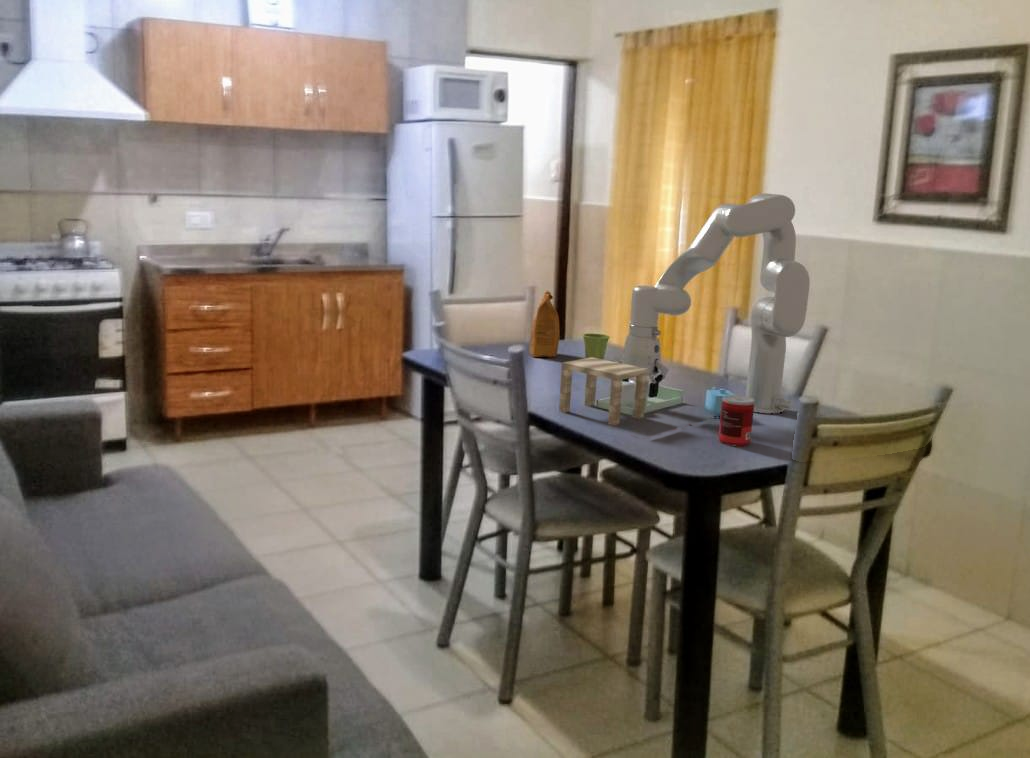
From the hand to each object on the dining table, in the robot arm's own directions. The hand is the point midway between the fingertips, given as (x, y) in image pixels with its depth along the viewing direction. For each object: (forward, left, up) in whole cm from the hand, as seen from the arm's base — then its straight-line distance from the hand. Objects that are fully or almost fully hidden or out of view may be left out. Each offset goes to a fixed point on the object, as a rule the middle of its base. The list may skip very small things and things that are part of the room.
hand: (638, 393), depth 268 cm
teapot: (-18, -13, -5) cm, 23 cm away
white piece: (0, 0, -3) cm, 3 cm away
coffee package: (+66, -39, -4) cm, 77 cm away
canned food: (-35, +9, -4) cm, 36 cm away
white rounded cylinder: (0, +7, -3) cm, 8 cm away
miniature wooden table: (0, +16, -4) cm, 17 cm away
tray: (0, -2, -4) cm, 4 cm away
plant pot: (+50, -47, -4) cm, 69 cm away
